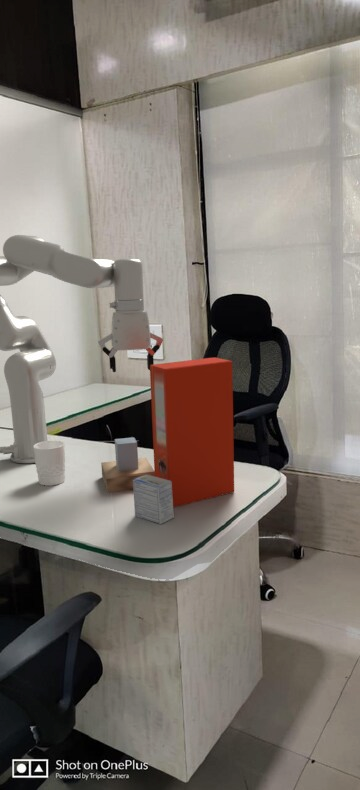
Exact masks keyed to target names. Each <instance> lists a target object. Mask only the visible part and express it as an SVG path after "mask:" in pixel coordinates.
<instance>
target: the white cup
mask: <svg viewBox="0 0 360 790" xmlns="http://www.w3.org/2000/svg"><path fill="white" fill-rule="evenodd" d="M33 448H34V455H35V462H36V463H35V468H36V473H37V479H38V481H37V482H38V483H39V485H41V486H44V485H45V486H48V487H49V486H57V485H60V484H63V483H64V482H65V481H66V452H65V451H66V450H65V442H64V441H61V440H47V441H45V442H40V443H37V444H35V445H34V446H33Z"/></svg>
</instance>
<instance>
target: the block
mask: <svg viewBox="0 0 360 790" xmlns="http://www.w3.org/2000/svg"><path fill="white" fill-rule="evenodd" d="M114 449H115V450H114V451H115V452H114V453H115V461H116V466H117V468H118V470H119V471H125V470H134V469H139V468H138V459H139V455H138V441H137V440H136V438H135V437H133V436H131V437H125V438H115V439H114Z"/></svg>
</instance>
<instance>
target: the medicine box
mask: <svg viewBox="0 0 360 790" xmlns="http://www.w3.org/2000/svg"><path fill="white" fill-rule="evenodd" d="M132 490H133V501H134V504H133V505H134V516H135V517H138V518H141V519H144V520H146V521H150V522H154V523H156V524H159V525H163V524H164V523H167V522H168V521H170V520H172V519H174V517H175V516H174V515H175V514H174V507H173V497H172V482H171V481H170V480H166V479H162V478H158V477H154V476H150V475H144V476H141V477H138V478H136V479H134V480H133V489H132Z"/></svg>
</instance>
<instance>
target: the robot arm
mask: <svg viewBox="0 0 360 790" xmlns="http://www.w3.org/2000/svg"><path fill="white" fill-rule="evenodd" d="M63 247H64V246H62V245H60V244H56V243H53V242H48V241H46V240H44V239H43V238H41V237H38V236H37V235H35V236H34V235H25V234H16V235H15V234H14V235H12V236H9V237H8V238H7V239H6V240H5V242H4V243H3V246H2V253H3V255H0V287H5V286H11V285H15V284H17V283H18V282H20V281H21V280H24V278H26V277H27V276H29V275H31V274H32V273H33V272H38V273H42V274H45V275H48V276H50V277H53V278H55V279H57V280H60V281H61V282H64V283H68V284H71V285H75V286H79V287H82V288H86V289H102V288H110V287H111V288H112V287H114V301H112V302H109V308H110V309H114V310H115V311H114V312H112V317H111V331H110V333H109V334H108V335H106V336H105V337H103V338H101V339H99V340H98V341H97V342H98V345H99V347H100V348H101V350H102V352H103V353H104V354H105V355H107V356H108V357H109V359H108V360H109V369H110V370H112V372H113V373H116V372H117V367H116V365H117V363H116V356H115V355H116V353H117V352H118V351H136V350H137V351H138V350H139V351H140V350H145V351H146V352H147V354H146V361H147V366H146V368H147V370H149V371H150V365H154V356H155V354H156V353H157V352H158V351H159V350H160V348H161V346H162V344H163V341H164V338H162V337H161V336H159V335H156V334H154V333H152V332H151V330H150V329H151V327H150V320H149V316H148V312H147V311H145V306H144V302H145V301H144V278H143V277H144V275H143V272H144V271H143V263H142V261H141V260H140V259H138V258H119V259H111V258H90V257H84V256H82V255H81V256H80V255H77V254H73V253H70V252H68V251H65V249H64V248H63ZM151 339H152V340H154V341H156V342H155V344H154V346H152V347H151ZM110 341H111V346H112V347H111V349H108V348H107V347H106V343H107V342H110ZM15 350H19V351H18V352H16V353H14V354H12V355H10V356H9V357H8V358H7V359H6V361H5V363H4V367H3V374H4V378H5V381H6V385H7V389H8V393H9V401H10V402H9V403H10V410H11V411H10V412H11V419H12V420H11V421H12V431H13V444H9V446H4V445H3V446H0V454H3V455H9V454H10V456H9V457H10V461H11V462H13V463H15V464H16V463H17V464H33V463H35V464H36V462H35V455H34V448H33V446H34V445H35V444H37V443H40V442H45V441H48V432H47V431H48V430H47V419H46V408H45V407H46V405H45V399H44V393H43V391H42V388H41V386H40V384H39V383H40V381H42V380H46V379H48V378H49V377H51V376H53V375H54V373H55V371H56V368H57V362H56V358H55V355H54V352H53V350H52V348H51V346H50V345H49V343H48V341H47V338H46V337H45V335H44V334H43V332H42V329H41V328H40V325H39V324H37V322H36V321H35V320H34V319H33V318H31V317H28V316H24V315H18V316H16V315H14V313H13V311H12V310H11V308H10V306H9V305H8V302H7V301H6V300H5V298H4V297H3V296H2V295H1V294H0V351H4V352H11V351H15Z"/></svg>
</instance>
